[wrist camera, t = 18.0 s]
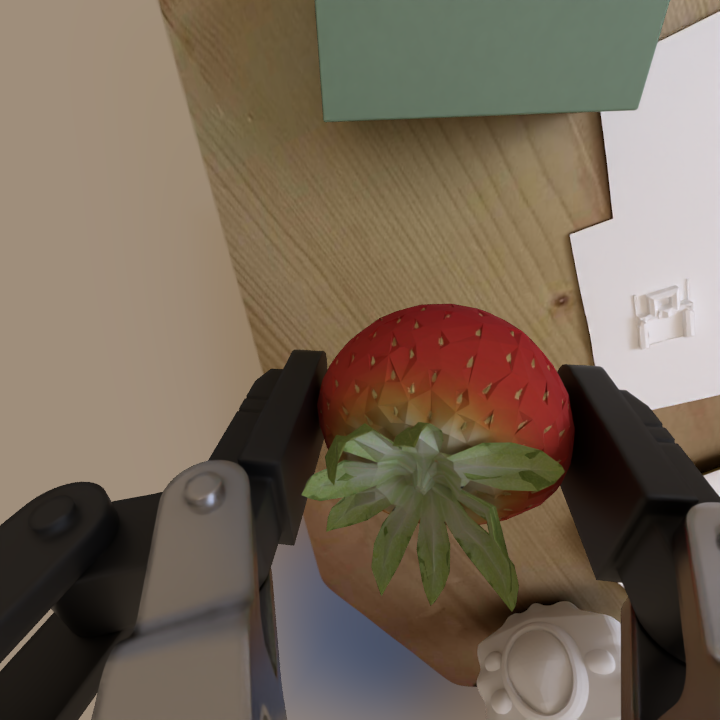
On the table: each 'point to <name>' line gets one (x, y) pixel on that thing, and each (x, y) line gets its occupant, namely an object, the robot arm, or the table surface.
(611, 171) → the paper
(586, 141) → the table surface
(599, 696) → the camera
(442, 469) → the fruit
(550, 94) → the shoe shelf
